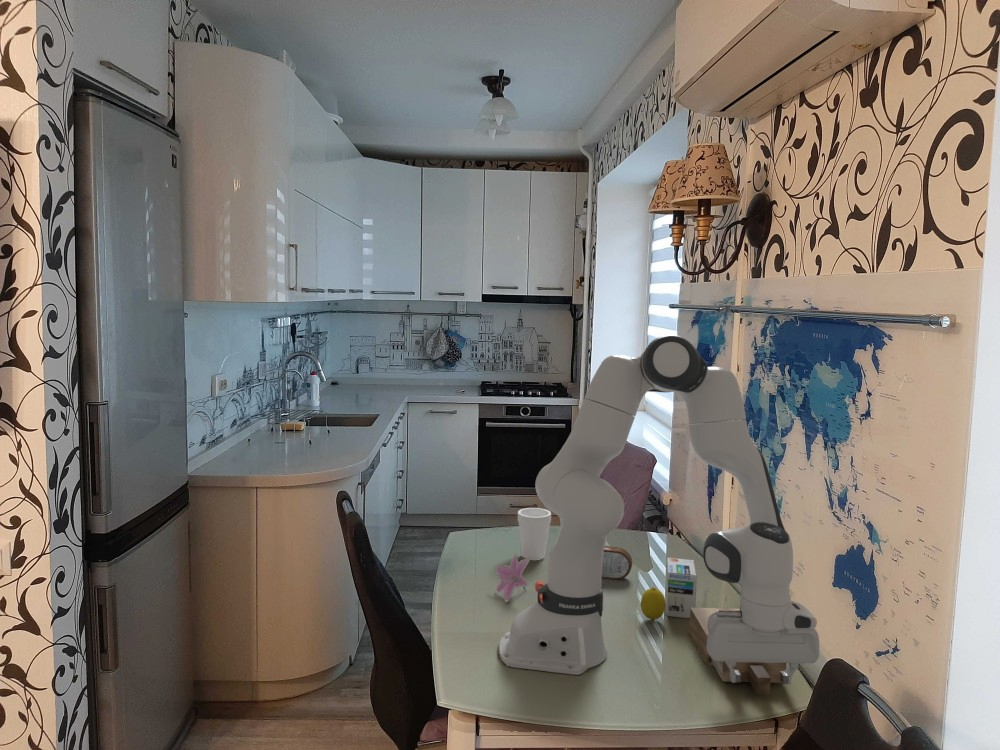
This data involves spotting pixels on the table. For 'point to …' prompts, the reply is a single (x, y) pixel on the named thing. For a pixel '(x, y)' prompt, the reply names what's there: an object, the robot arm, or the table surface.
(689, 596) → the light bulb box
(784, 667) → the tray
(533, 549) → the foam cup
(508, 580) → the lily
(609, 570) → the tin
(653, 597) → the lemon
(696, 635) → the sleeve
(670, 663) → the table surface
